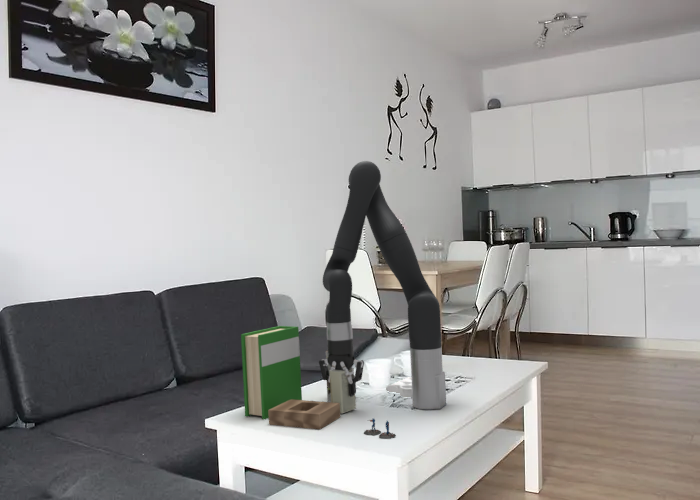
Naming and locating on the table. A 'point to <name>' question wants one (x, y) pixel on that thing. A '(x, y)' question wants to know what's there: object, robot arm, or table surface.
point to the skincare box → (341, 390)
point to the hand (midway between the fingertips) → (342, 395)
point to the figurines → (382, 435)
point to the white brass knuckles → (402, 387)
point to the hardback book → (270, 368)
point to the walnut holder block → (304, 414)
